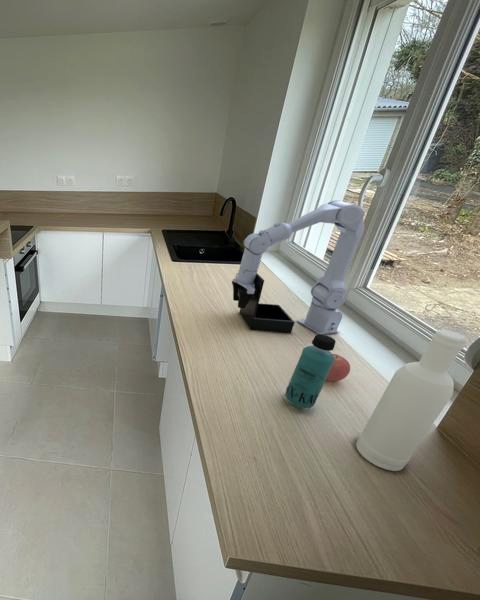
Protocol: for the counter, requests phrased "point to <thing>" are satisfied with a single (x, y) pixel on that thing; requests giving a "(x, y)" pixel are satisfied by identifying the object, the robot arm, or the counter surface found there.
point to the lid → (255, 299)
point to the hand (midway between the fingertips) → (238, 303)
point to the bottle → (411, 404)
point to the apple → (338, 369)
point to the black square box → (268, 319)
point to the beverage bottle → (311, 372)
